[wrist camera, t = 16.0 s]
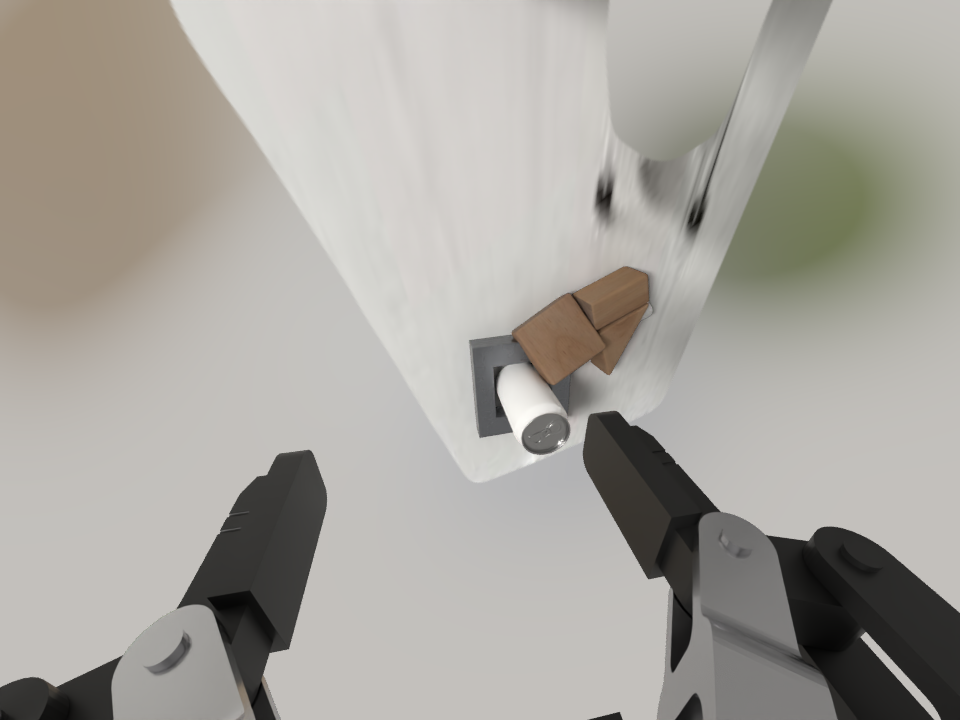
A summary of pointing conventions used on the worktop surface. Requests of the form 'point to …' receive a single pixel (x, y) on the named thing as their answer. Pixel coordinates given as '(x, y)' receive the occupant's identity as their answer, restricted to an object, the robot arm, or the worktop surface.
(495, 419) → the gray square frame plate
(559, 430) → the can
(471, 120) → the worktop surface
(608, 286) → the wooden blocks
